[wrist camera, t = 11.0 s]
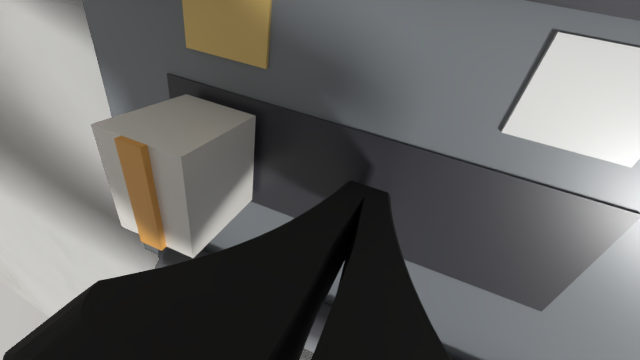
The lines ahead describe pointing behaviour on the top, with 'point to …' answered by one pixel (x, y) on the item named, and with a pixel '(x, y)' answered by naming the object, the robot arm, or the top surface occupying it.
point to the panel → (429, 145)
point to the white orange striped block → (178, 169)
